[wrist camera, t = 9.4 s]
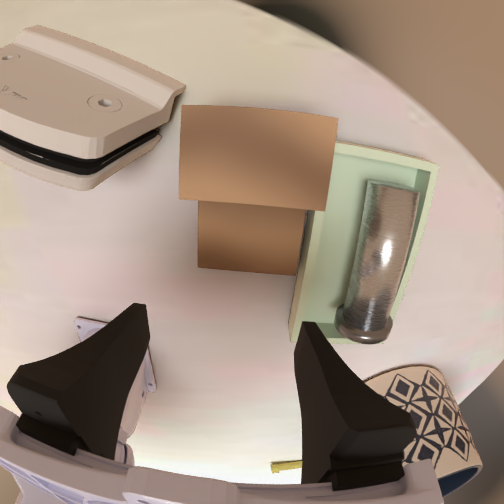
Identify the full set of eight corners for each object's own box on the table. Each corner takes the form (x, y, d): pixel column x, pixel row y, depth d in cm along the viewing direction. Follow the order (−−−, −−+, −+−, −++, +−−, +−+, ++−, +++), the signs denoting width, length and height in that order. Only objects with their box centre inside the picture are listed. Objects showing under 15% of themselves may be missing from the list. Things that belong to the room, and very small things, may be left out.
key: (266, 459, 39) (266, 470, 37) (343, 442, 36) (345, 454, 35) (281, 472, 42) (281, 482, 40) (350, 457, 39) (352, 467, 37)
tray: (375, 325, 25) (383, 343, 23) (288, 322, 25) (290, 342, 23) (422, 158, 19) (439, 165, 16) (317, 137, 19) (325, 141, 16)
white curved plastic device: (191, 87, 17) (97, 147, 10) (165, 141, 21) (83, 222, 13) (35, 24, 14) (-61, 60, 7) (25, 70, 17) (-61, 117, 10)
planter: (435, 340, 27) (489, 448, 14) (446, 401, 32) (478, 479, 19) (306, 402, 31) (316, 517, 18) (350, 445, 36) (363, 527, 23)
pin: (362, 304, 25) (400, 331, 21) (322, 318, 23) (361, 352, 19) (388, 179, 20) (439, 195, 17) (346, 177, 18) (402, 194, 15)
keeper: (293, 265, 23) (303, 319, 17) (201, 257, 23) (182, 309, 17) (313, 116, 18) (338, 118, 12) (207, 107, 18) (181, 105, 12)
